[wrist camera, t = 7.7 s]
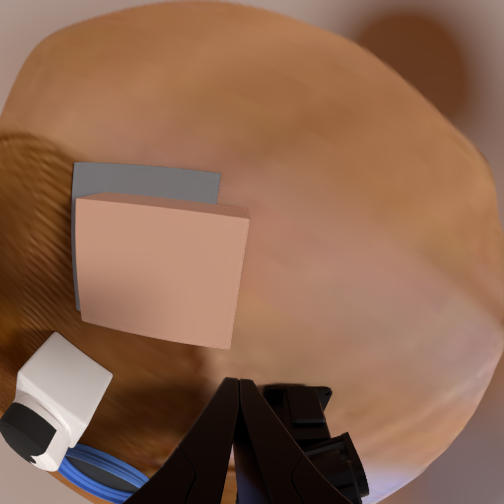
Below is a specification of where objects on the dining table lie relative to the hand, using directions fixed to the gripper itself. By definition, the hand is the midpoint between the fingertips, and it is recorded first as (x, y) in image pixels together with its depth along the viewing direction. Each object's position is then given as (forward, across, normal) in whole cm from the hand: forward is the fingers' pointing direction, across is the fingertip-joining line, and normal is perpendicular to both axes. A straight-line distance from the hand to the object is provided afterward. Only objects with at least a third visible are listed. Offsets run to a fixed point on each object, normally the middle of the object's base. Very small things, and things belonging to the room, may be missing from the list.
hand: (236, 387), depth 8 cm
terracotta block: (+10, 0, 0) cm, 10 cm away
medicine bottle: (+12, +15, +14) cm, 24 cm away
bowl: (+12, +17, +39) cm, 44 cm away
